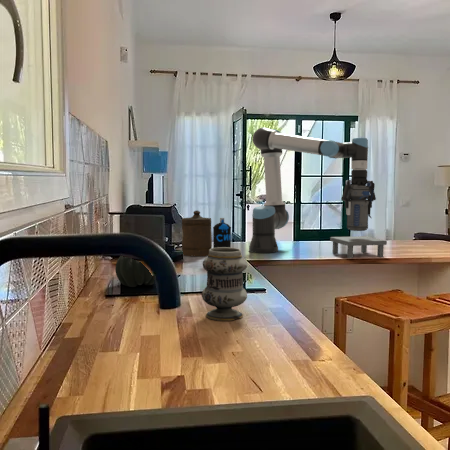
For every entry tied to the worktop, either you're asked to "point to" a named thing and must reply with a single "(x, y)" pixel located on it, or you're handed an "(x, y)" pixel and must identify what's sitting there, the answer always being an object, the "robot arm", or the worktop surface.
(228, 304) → the apothecary jar
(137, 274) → the squash
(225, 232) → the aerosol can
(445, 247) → the worktop surface
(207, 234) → the wooden container
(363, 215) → the beverage bottle
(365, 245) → the stool
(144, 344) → the worktop surface
